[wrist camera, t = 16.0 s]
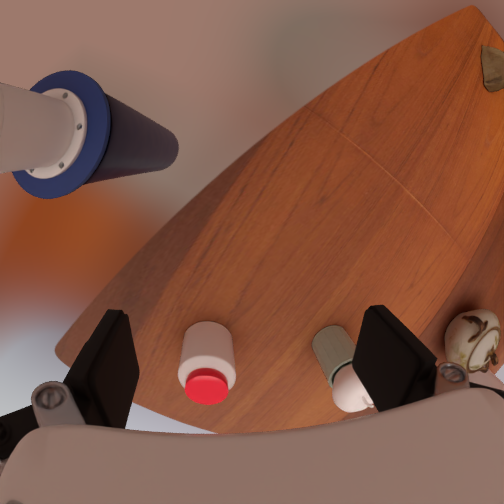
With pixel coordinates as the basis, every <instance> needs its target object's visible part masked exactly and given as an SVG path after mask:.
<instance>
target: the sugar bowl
mask: <svg viewBox="0 0 504 504" xmlns="http://www.w3.org/2000/svg"><path fill="white" fill-rule="evenodd" d="M500 336H501V331H500V325H499V321H498V318H497V316H496V315H495V314H494V313H493V312H492V311H490V310H487V309H477V310H473V311H469V312H465V313H461V314H459V315H458V316H456V317H455V318H454V319H453V320H452V321H451V323H450V324H449V326H448V328H447V330H446V333H445V337H444V338H445V351H446V359H447V362H454V363H457V364H459V365H461V366H462V367H463V368H465V369H466V371H467V372H468V374H472V373H475V372H477V371H481V372H482V373H486V372H487V371H488V366H489V360H490V359H491V361H492V364H493V365H494V366H495V365H497V364H498V358H497V356H496V354H495V350H496V348H497V346H498V344H499V341H500ZM485 364H486V366H485V367H483V366H484V365H485Z"/></svg>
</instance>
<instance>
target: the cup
mask: <svg viewBox="0 0 504 504" xmlns="http://www.w3.org/2000/svg"><path fill="white" fill-rule="evenodd" d="M355 348H356V344H355V343H354V341H353V340H352V338H351V337H350V336H349V334H348V333H347V332H346V330H345V329H344V328H342V327H340V326H336V325H333V326H328V327H325V328H323V329H322V330H320V331H319V332H318V333H317V334H316V335H315V337H314V339H313V341H312V349H313V351H314V354H315V356H316V358H317V360H318V362H319V365H320V367H321V369H322V371H323V373H324V375H325V377H326V379H327V381H328V384H329V386H330V387H331V388H333V383H334V378H335V375H336V374H337V372H338V371H339V370H340V369H341V368H342V367H344V366H346V365H348V364H351V363H352V359H353V356H354V352H355Z"/></svg>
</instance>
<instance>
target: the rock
mask: <svg viewBox="0 0 504 504" xmlns="http://www.w3.org/2000/svg"><path fill="white" fill-rule="evenodd" d="M481 59H482V66H483V74H484V85H485V87H486V88H487V89H488V91H489V92H494V91H499V90H501V89H503V88H504V52H502V51H500V50H499V49H496V48H492V47H489V46H487V47H486V46H482V54H481Z"/></svg>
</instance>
